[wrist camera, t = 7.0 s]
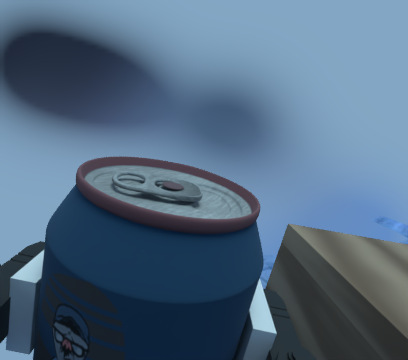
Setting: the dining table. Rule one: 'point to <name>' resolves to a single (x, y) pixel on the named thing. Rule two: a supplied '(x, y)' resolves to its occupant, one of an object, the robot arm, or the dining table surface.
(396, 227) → the dining table surface
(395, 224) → the dining table surface
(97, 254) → the soda can
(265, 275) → the dining table surface
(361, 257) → the shelf
